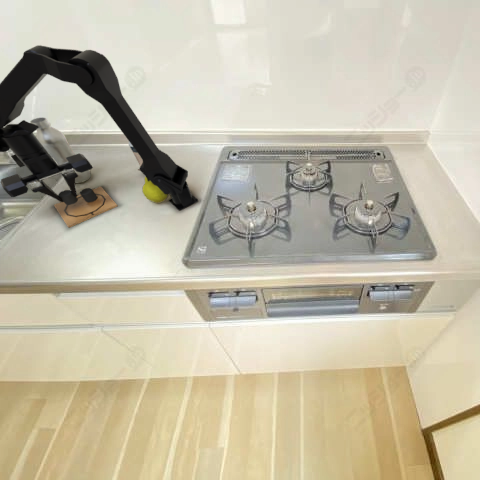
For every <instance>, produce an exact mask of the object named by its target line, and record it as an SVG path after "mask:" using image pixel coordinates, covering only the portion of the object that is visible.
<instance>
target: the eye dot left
mask: <svg viewBox="0 0 480 480" xmlns="http://www.w3.org/2000/svg"><path fill="white" fill-rule="evenodd" d="M57 195H58V196H59V197H60V198H61V199H62V200H63V202H64V203H65V204H66V205H71V204H74V203H76V202H77V201H78V199H77V197H76V196H75V195H74V194H73V193H72V191H71V190H70V189H65V190H62V191H60V192H59V193H57Z"/></svg>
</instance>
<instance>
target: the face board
mask: <svg viewBox="0 0 480 480" xmlns="http://www.w3.org/2000/svg"><path fill="white" fill-rule="evenodd" d="M92 190H93V191H94V193H95V194H96V196H97V197H98V198H97V200H95V201H93V202H86V201H85V200H84V198H83V197H82V196H81V195H80V194H77V199H78V201H77V202H76V203H74V204H71V205H66V204H65V203H64V202H60V201H59V202H58V203H55V204H54V205H53V206H54V207H55V209H56V210H57V211H56V212H57V213H58V214H59V216H60V217H61V218H62V220H63V221H64V223H65V225H66V226H67V227H68V228H69V229H70V228H72V227H74V226H77V225H79V224H81V223H84V222H85V221H88V220H90V219H93V218H94V217H97V216H99V215H101V214H103V213H106V212H108V211H110V210H113V209H115V208H117V207H118V204H117V203H116V202H115V201H114V200H113V199H112V197H111V196H110V195H109V194H108V192H106V191H105V189H104V188H103V187H102V186H101V185H100V186H98V187H96V188H93V189H92Z"/></svg>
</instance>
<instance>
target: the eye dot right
mask: <svg viewBox="0 0 480 480" xmlns="http://www.w3.org/2000/svg"><path fill="white" fill-rule="evenodd" d="M79 195H81V196H82V197H83V198H84V200H85V201H86V202H93V201H95V200H97V198H98V197H97V196H96V194H95V193H94V191H93V189H92V188H91V187H87V188H83V189H81V190H80V191H79Z"/></svg>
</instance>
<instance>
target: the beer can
mask: <svg viewBox="0 0 480 480" xmlns="http://www.w3.org/2000/svg"><path fill="white" fill-rule="evenodd" d="M128 146H129V148H130V150H131V151H132V153H133V155H134V157H135V159H136V161H137V163H138V165H139V167H140V166H141V165H142V163H143V160H142V158H141V157H140V155H139V154H138V153H137V151H136V150H135V148H134V147H133V146H132V144H131V143H130V142H129V141H128Z"/></svg>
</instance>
